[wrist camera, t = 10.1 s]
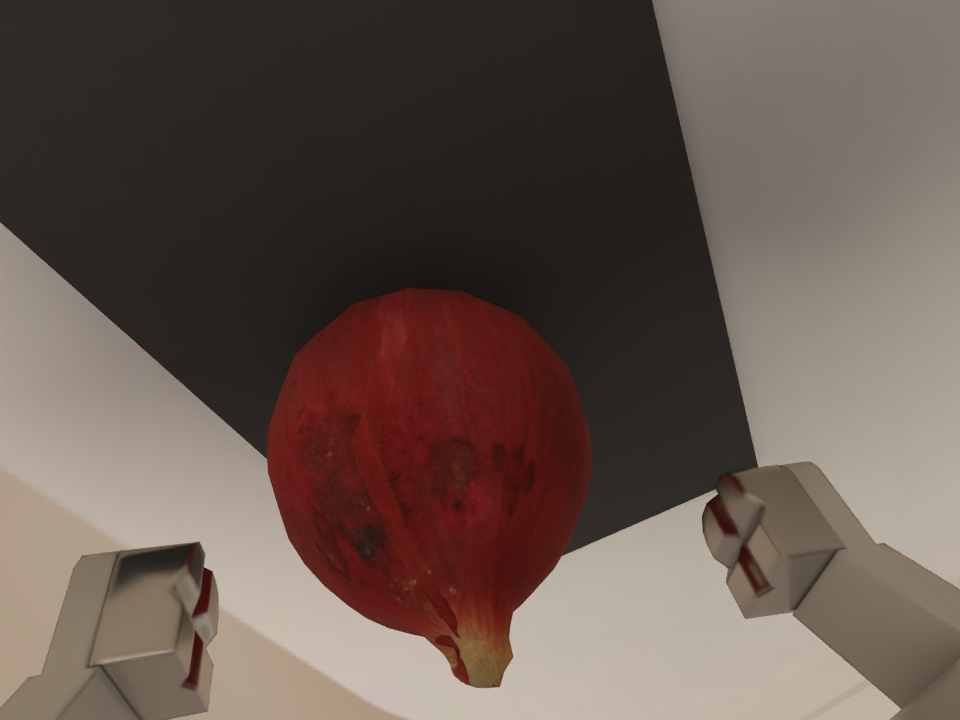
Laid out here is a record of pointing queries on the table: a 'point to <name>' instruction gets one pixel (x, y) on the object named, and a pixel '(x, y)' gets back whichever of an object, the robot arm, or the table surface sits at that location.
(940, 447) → the table surface
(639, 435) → the placemat
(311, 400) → the red round fruit
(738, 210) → the table surface
